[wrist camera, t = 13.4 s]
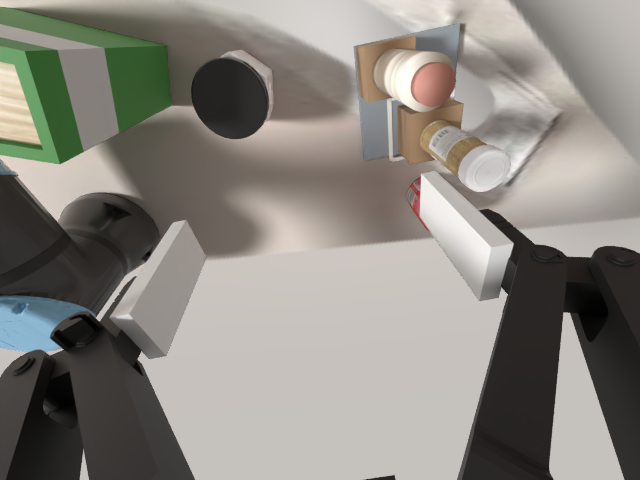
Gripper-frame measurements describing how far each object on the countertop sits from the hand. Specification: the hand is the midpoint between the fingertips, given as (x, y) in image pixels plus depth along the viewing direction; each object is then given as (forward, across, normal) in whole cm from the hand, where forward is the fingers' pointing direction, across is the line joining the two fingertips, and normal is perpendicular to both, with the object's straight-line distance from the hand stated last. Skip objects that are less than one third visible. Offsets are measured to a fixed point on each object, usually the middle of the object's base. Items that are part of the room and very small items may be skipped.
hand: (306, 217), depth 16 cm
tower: (+31, +12, +3) cm, 34 cm away
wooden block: (+31, +18, -6) cm, 37 cm away
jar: (+33, -7, +4) cm, 34 cm away
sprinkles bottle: (+26, +18, -6) cm, 32 cm away
